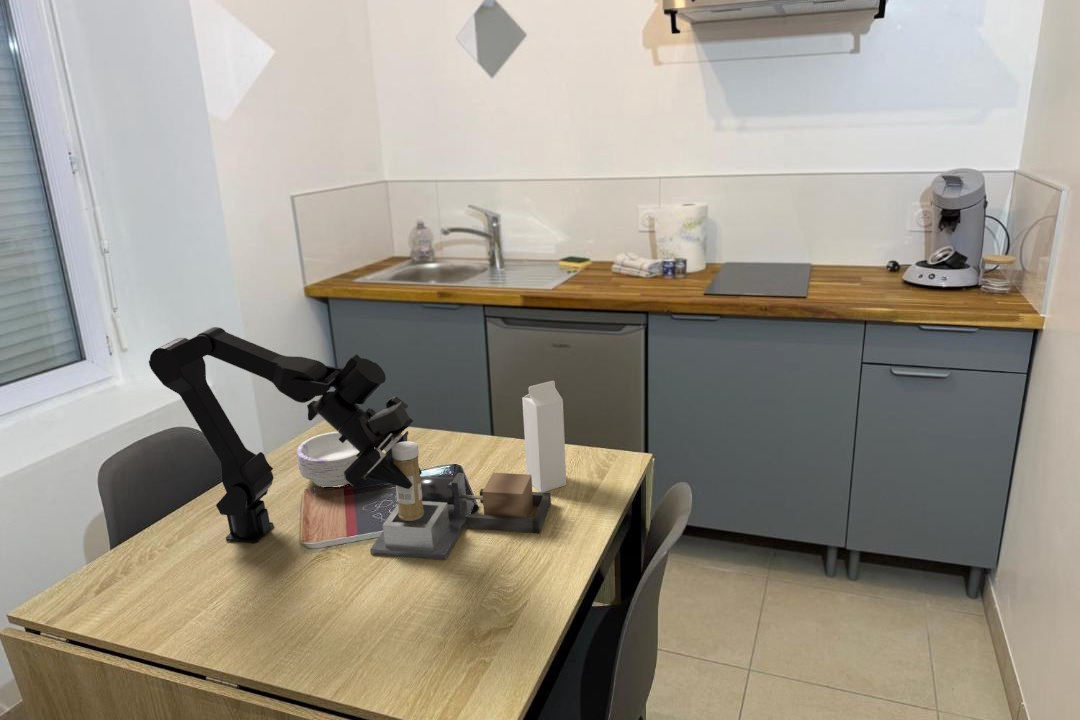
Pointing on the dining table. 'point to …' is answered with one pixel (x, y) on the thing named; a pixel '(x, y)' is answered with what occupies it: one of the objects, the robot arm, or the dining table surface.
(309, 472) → the paper bowls
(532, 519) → the crate bay
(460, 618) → the dining table surface
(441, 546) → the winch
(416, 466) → the sprinkles bottle
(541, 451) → the milk
